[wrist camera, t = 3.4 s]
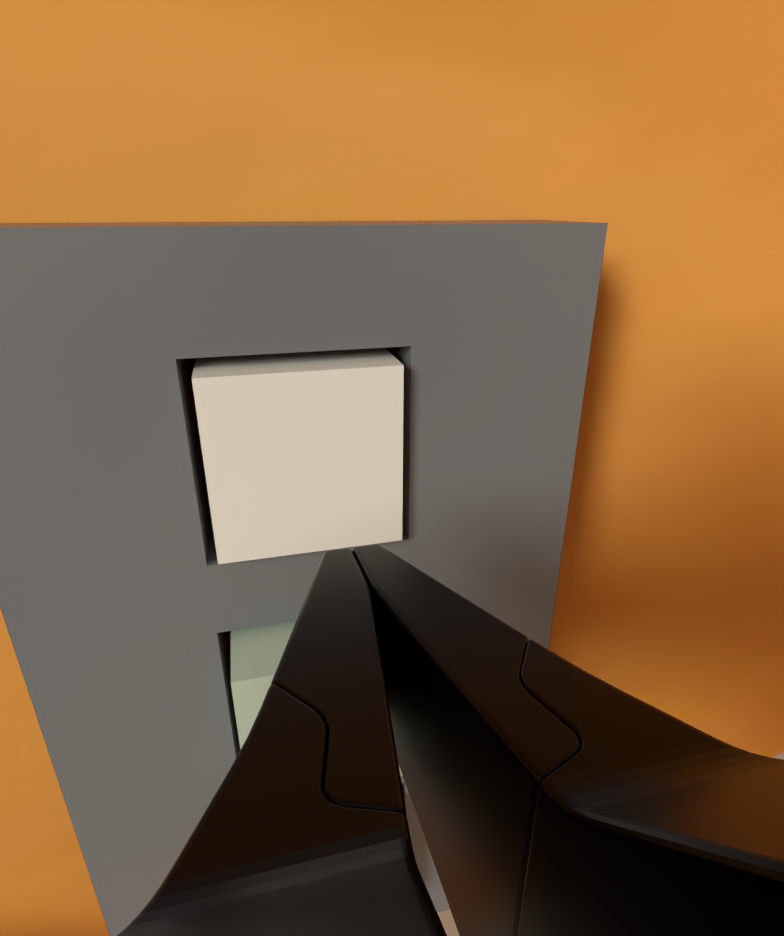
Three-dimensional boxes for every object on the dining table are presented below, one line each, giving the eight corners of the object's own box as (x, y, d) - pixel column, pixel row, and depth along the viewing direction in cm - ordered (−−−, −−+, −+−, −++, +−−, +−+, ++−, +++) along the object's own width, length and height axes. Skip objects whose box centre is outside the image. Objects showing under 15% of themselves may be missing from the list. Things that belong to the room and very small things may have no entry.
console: (142, 904, 22) (130, 998, 20) (-52, 223, 13) (-127, 228, 10) (485, 819, 26) (515, 890, 23) (543, 220, 16) (607, 223, 13)
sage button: (246, 721, 18) (249, 810, 16) (230, 604, 16) (230, 682, 14) (385, 694, 19) (409, 773, 16) (384, 582, 17) (412, 650, 15)
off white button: (219, 505, 16) (217, 564, 14) (198, 346, 14) (191, 378, 12) (375, 488, 17) (402, 540, 15) (373, 337, 15) (403, 365, 13)
